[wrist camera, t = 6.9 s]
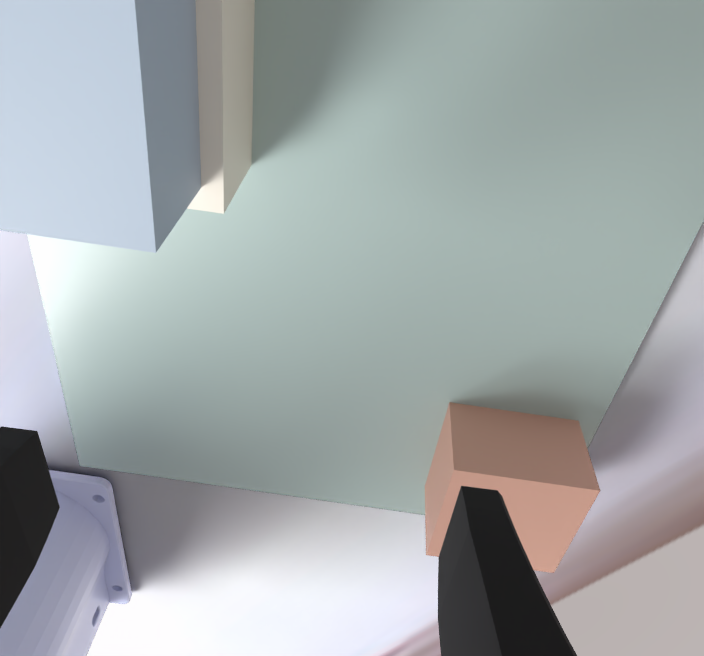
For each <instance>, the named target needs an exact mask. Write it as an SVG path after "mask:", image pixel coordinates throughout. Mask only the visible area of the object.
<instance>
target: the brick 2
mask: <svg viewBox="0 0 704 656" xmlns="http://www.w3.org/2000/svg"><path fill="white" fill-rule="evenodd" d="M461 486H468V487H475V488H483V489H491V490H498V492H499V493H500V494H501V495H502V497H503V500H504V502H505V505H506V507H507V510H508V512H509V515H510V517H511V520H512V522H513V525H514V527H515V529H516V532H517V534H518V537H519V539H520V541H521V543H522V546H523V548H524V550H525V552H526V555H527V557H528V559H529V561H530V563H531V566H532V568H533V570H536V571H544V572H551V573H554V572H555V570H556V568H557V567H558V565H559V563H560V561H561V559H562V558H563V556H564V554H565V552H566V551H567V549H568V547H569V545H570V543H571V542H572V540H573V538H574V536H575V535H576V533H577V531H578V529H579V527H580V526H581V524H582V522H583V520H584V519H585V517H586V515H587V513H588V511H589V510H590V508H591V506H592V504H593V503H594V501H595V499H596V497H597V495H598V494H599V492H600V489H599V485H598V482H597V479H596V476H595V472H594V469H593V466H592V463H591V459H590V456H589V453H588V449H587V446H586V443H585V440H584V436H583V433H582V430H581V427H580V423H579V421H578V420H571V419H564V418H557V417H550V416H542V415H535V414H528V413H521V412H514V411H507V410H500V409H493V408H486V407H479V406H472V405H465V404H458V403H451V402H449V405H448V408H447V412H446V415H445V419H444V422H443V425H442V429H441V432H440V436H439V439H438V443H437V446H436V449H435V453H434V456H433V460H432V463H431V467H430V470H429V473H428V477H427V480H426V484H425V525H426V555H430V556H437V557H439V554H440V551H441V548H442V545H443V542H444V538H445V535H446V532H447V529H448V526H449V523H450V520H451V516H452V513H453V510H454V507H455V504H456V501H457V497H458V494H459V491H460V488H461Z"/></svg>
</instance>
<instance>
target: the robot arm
mask: <svg viewBox="0 0 704 656" xmlns="http://www.w3.org/2000/svg"><path fill="white" fill-rule="evenodd" d="M131 596H132V592H131V586H130V581H129V575H128V570H127V565H126V559H125V554H124V548H123V543H122V537H121V532H120V527H119V521H118V516H117V510H116V505H115V500H114V494H113V489H112V485H111V483H110V482H109V481H108V480H106V479H104V478H102V477H96V476H89V475H82V474H75V473H68V472H61V471H54V470H49V469H48V466H47V462H46V459H45V456H44V452H43V449H42V446H41V442H40V439H39V436H38V432H37V431H32V430H24V429H16V428H8V427H1V428H0V656H87V653H88V651H89V649H90V646H91V644H92V641H93V639H94V637H95V634H96V632H97V630H98V627H99V625H100V622H101V620H102V618H103V615H104V613H105V611H106V608H107V606H108V603H109V602H110V603H118V604H126V603H128V602H129V601H130V599H131ZM438 623H439V635H440V647H441V656H577V655H576V653H575V651H574V649H573V647H572V646H571V644H570V642H569V640H568V638H567V636H566V634H565V633H564V631H563V629H562V627H561V625H560V623H559V621H558V619H557V617H556V615H555V613H554V611H553V609H552V607H551V605H550V603H549V601H548V599H547V597H546V595H545V593H544V591H543V589H542V587H541V585H540V583H539V581H538V579H537V576H536V574H535V572H534V570H533V568H532V566H531V563H530V561H529V559H528V557H527V555H526V552H525V550H524V548H523V546H522V543H521V541H520V539H519V537H518V534H517V532H516V529H515V527H514V525H513V522H512V520H511V517H510V515H509V512H508V510H507V507H506V505H505V502H504V500H503V497H502V495H501V494H500V493H499V492H498V490H491V489H483V488H475V487H468V486H461V488H460V491H459V494H458V497H457V501H456V504H455V507H454V510H453V513H452V516H451V520H450V523H449V526H448V529H447V532H446V535H445V538H444V542H443V545H442V548H441V551H440V554H439V573H438Z"/></svg>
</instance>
